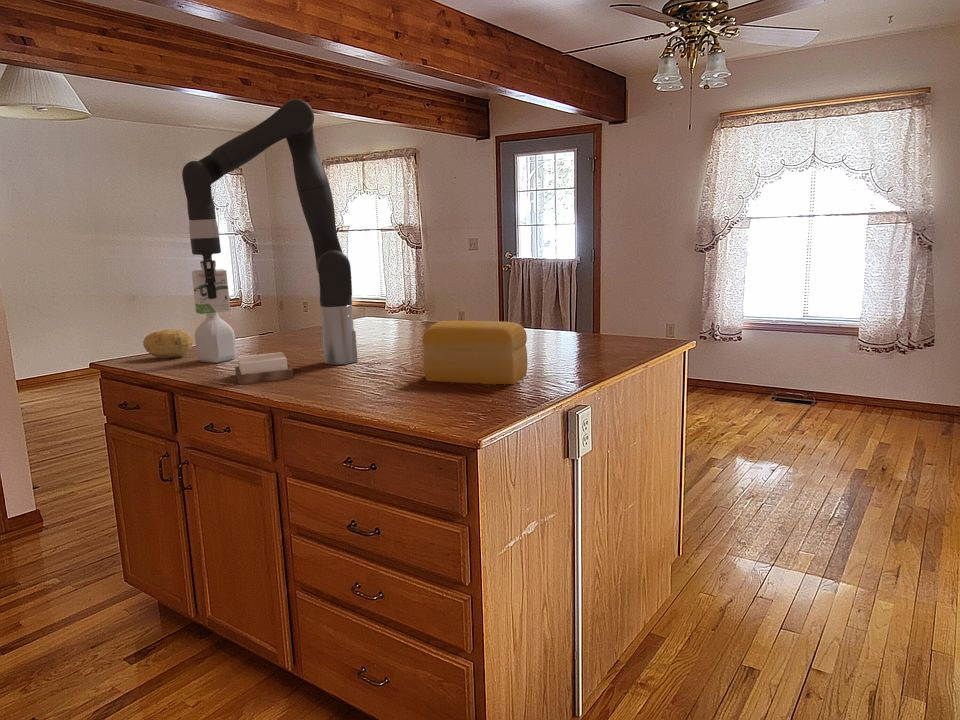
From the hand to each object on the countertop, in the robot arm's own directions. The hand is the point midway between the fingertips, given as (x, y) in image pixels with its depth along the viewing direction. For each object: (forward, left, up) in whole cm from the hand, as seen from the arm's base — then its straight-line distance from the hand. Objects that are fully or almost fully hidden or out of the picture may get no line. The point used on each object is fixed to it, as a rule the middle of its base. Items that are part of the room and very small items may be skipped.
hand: (212, 297), depth 193 cm
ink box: (0, 0, -4) cm, 4 cm away
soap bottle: (0, -22, -22) cm, 31 cm away
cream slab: (-11, +12, -19) cm, 25 cm away
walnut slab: (-11, +12, -22) cm, 28 cm away
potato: (+14, -37, -22) cm, 45 cm away
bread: (-61, +45, -22) cm, 79 cm away
